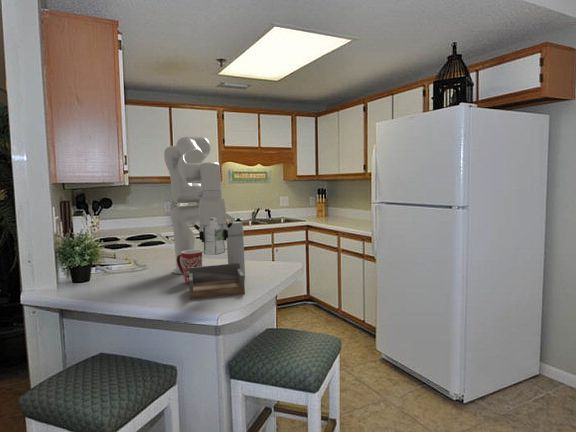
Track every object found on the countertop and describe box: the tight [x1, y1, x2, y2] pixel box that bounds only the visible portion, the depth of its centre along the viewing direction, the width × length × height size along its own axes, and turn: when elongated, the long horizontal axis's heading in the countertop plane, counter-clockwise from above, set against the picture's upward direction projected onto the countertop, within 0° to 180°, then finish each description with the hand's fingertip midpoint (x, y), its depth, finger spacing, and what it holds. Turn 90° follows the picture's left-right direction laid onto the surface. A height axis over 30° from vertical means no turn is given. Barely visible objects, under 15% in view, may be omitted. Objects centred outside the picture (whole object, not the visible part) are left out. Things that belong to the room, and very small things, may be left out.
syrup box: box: [203, 217, 226, 256], centre depth 150 cm, size 6×6×14 cm
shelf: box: [188, 263, 246, 300], centre depth 152 cm, size 14×20×9 cm
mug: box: [177, 249, 204, 285], centre depth 169 cm, size 13×9×14 cm
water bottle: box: [226, 221, 246, 281], centre depth 169 cm, size 9×8×25 cm
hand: (214, 240), depth 150 cm, fingers closed on syrup box, 8 cm apart
